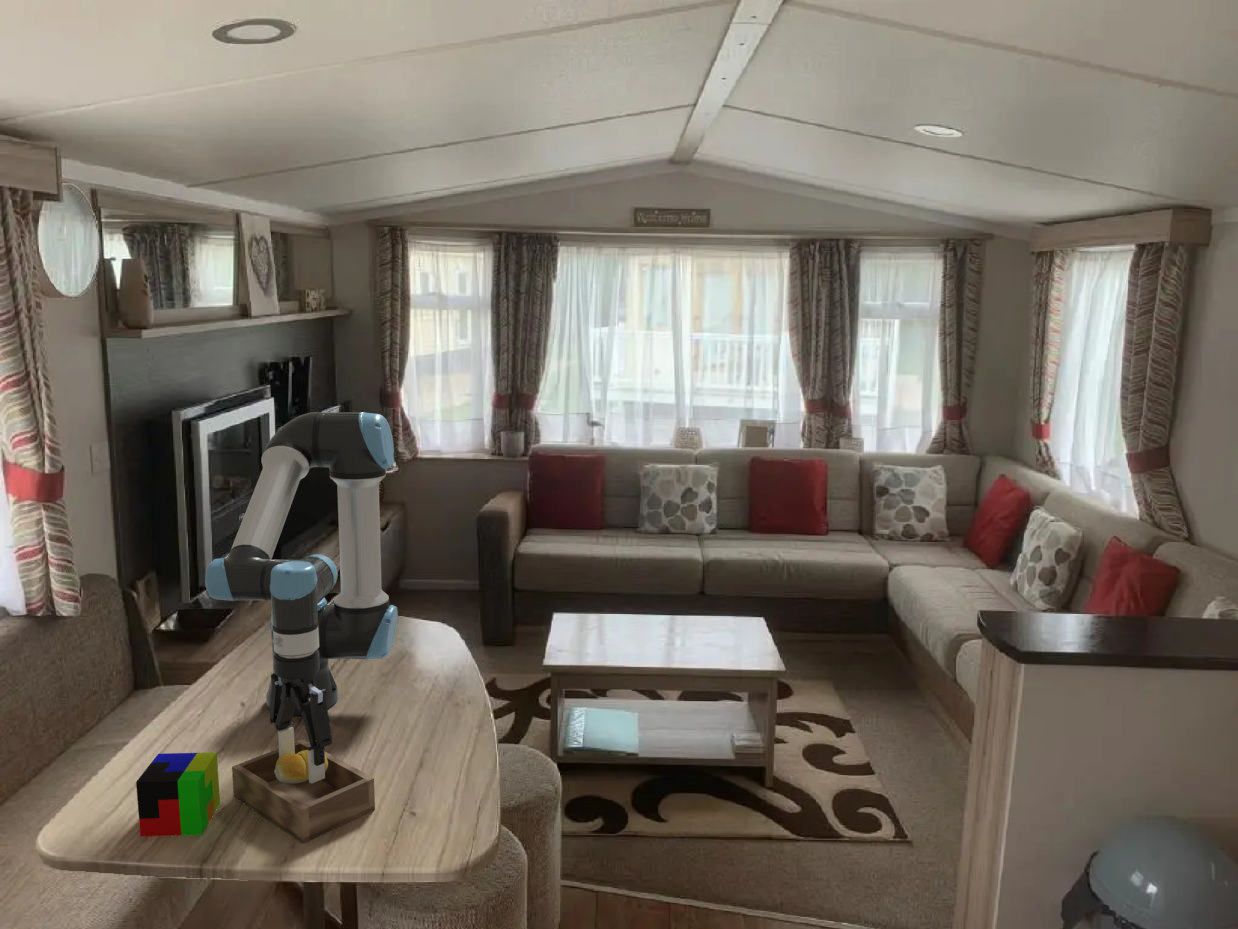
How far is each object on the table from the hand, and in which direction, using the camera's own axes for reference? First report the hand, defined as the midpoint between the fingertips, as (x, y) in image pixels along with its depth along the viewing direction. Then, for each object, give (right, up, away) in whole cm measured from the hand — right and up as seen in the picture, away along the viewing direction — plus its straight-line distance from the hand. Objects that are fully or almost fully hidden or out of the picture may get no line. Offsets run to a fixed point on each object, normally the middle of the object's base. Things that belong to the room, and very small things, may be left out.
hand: (301, 771), depth 177 cm
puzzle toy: (-19, -7, -5) cm, 21 cm away
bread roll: (0, -1, 0) cm, 1 cm away
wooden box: (0, -6, +1) cm, 6 cm away
